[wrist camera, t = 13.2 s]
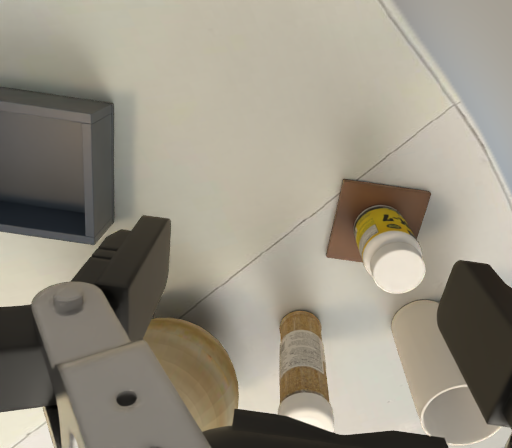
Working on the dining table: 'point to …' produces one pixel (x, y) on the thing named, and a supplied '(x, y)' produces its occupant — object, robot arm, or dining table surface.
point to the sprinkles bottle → (304, 371)
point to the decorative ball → (196, 370)
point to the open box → (56, 166)
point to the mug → (436, 378)
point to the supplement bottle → (389, 249)
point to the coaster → (362, 197)
